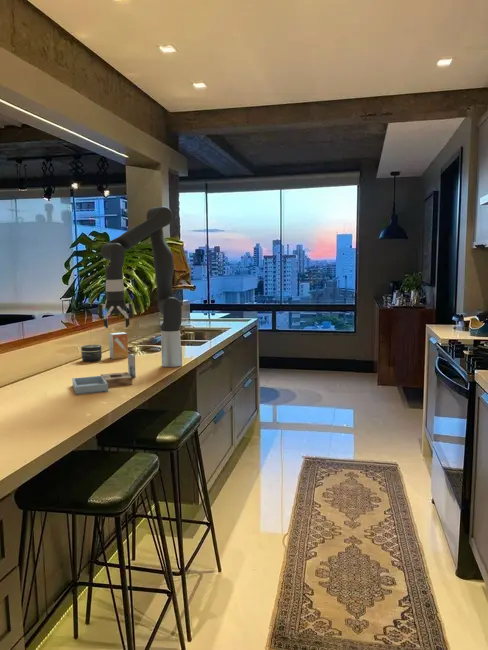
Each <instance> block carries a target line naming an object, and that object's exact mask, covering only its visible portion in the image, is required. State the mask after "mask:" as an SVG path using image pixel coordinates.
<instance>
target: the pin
mask: <svg viewBox="0 0 488 650" xmlns="http://www.w3.org/2000/svg"><path fill="white" fill-rule="evenodd" d="M127 369H128V370H127V371H128V372H127V373H128V374H129V375H130V376H131V377H132V379H133V378H136V375H137V373H136V354H135V353H130V354H129V353H128V358H127Z"/></svg>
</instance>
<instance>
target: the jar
mask: <svg viewBox="0 0 488 650" xmlns="http://www.w3.org/2000/svg"><path fill="white" fill-rule="evenodd" d="M80 349H81V350H80V351H81V360H82V362H84V363H96V362H101V360H102V357H103V354H102V353H103V352H102V345H101V344H83V345H82V346H81V347H80Z"/></svg>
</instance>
